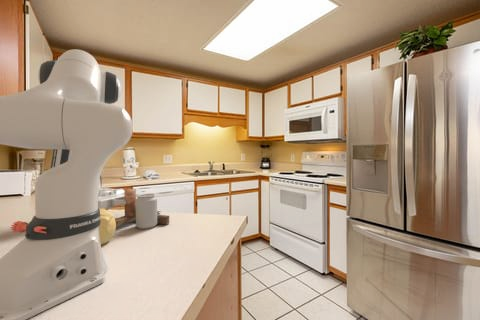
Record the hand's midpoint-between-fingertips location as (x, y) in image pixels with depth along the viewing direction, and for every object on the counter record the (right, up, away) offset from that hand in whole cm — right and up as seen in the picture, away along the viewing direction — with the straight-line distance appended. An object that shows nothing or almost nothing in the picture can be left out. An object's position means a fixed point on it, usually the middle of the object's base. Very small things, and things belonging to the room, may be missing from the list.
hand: (131, 201), depth 89 cm
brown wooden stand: (+5, -9, -4) cm, 11 cm away
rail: (0, -9, +3) cm, 9 cm away
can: (+7, -9, -3) cm, 12 cm away
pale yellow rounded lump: (-2, -9, -19) cm, 22 cm away
